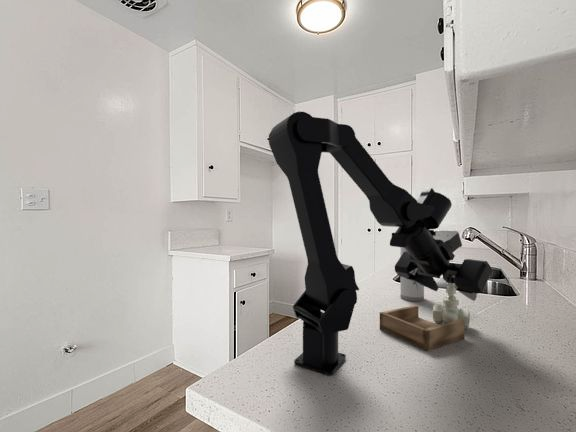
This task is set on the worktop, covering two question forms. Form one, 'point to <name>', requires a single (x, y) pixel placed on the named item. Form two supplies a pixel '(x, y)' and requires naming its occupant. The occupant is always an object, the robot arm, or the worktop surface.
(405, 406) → the worktop surface
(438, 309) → the valve
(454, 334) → the tray
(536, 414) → the worktop surface
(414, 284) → the travel mug
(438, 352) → the worktop surface
